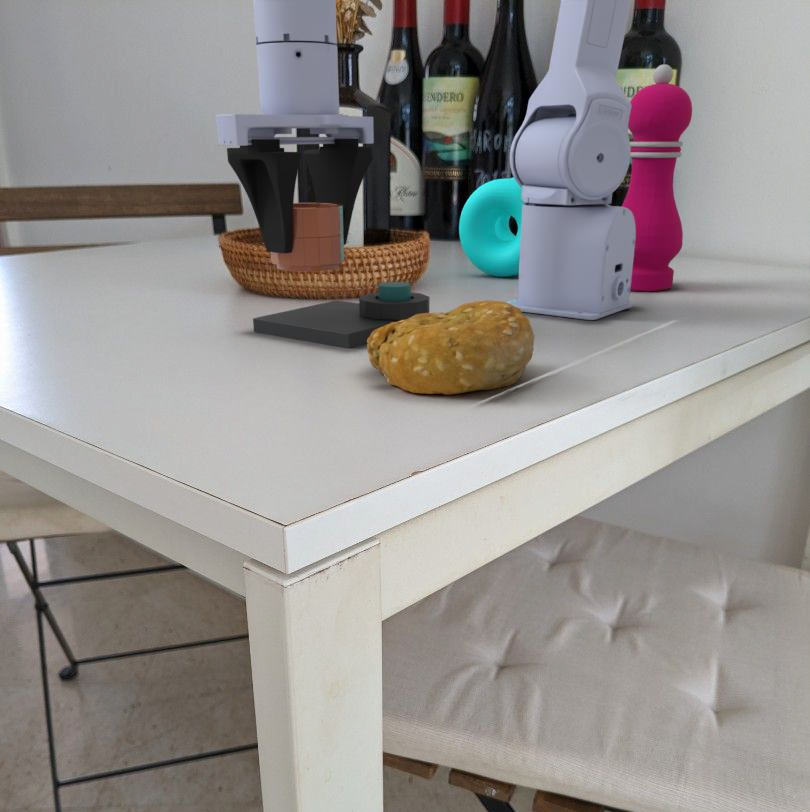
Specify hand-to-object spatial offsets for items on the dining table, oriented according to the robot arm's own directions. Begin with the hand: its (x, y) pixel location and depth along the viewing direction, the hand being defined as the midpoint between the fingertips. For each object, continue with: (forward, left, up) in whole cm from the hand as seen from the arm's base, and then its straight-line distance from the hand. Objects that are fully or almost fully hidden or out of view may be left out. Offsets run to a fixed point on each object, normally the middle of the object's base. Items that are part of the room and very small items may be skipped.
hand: (307, 248), depth 66 cm
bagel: (-18, +6, -6) cm, 20 cm away
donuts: (+3, -37, -6) cm, 38 cm away
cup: (0, 0, -1) cm, 1 cm away
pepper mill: (-13, -36, -6) cm, 39 cm away
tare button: (-5, -5, -4) cm, 8 cm away
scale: (-2, -2, -6) cm, 7 cm away
